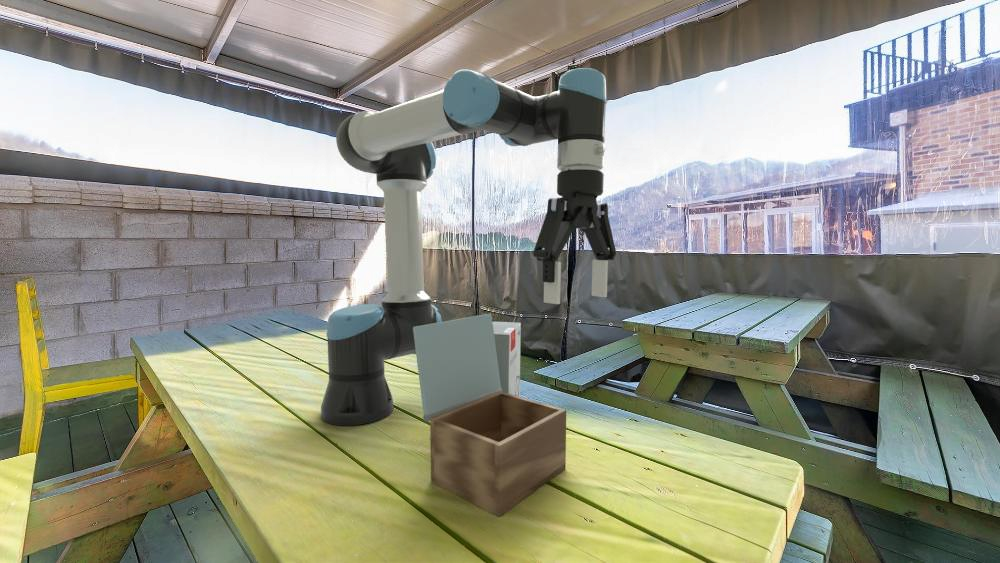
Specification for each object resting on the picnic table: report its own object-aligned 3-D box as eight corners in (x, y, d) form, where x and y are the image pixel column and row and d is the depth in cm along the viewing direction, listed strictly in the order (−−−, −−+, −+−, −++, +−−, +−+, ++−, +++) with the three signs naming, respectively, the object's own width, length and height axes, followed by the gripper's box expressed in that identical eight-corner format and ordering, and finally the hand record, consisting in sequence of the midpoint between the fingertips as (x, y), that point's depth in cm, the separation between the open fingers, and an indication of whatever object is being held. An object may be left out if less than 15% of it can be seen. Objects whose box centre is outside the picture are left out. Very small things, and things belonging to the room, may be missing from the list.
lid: (428, 422, 67) (423, 421, 68) (502, 392, 80) (497, 392, 81) (416, 326, 67) (411, 327, 68) (492, 313, 81) (487, 314, 82)
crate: (430, 481, 68) (430, 419, 67) (500, 443, 81) (500, 391, 80) (499, 517, 59) (499, 446, 58) (565, 468, 72) (566, 409, 71)
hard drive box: (508, 436, 84) (508, 335, 83) (470, 433, 86) (469, 333, 84) (520, 407, 99) (521, 321, 98) (488, 405, 101) (488, 320, 99)
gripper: (550, 157, 60) (547, 309, 62) (638, 177, 78) (633, 295, 79) (511, 163, 65) (509, 303, 67) (601, 181, 83) (598, 292, 85)
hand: (576, 299), depth 73 cm, fingers open, 13 cm apart
